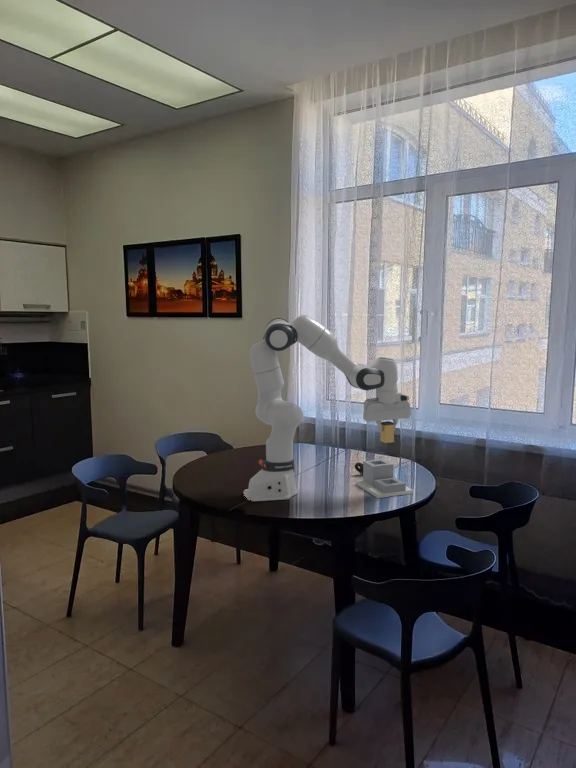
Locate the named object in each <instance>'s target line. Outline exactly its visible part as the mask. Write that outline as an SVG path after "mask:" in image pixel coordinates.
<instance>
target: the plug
mask: <svg viewBox="0 0 576 768" xmlns="http://www.w3.org/2000/svg"><path fill="white" fill-rule="evenodd" d="M393 422H394V421H390V420H385V421H381V423H380V424H381V426H382V427H384V431H379V432H380V433H379V434H380V436H379V437H380V442H382V443H384V444H387V443H389V444H390V443H395V430H394V423H393Z"/></svg>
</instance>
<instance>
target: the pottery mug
mask: <svg viewBox="0 0 576 768" xmlns="http://www.w3.org/2000/svg"><path fill="white" fill-rule="evenodd" d="M369 460H370V459H368V460H366V461H369ZM354 468H355V470H356V471H357V472H358V473H359V474H360V475H363V462H362V463H361V462H356V463H355V464H354Z"/></svg>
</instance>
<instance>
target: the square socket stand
mask: <svg viewBox="0 0 576 768" xmlns="http://www.w3.org/2000/svg"><path fill="white" fill-rule="evenodd" d="M368 460H369V461H367V460H363V461H362V464H363V474H362V480H361V479H360V480H356V481H355V484H356V486H358V487H360V488H361V489H363V490H364V491H366V493H369V494H370V495H371V496H373V497H375V498H377V499H382V498H389V497H390V496H391V497H398V496H406V495H413V494H414V489H412V488H410V487H408V486H407V485H406V484H407V483H406V482H404V481H401V480H400V479H399V478H396V477H394V476H395V475H394V472H395V471H394V463H392V462H389V461H388V460H386V459H384V458H380V459H368Z"/></svg>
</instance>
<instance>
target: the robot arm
mask: <svg viewBox="0 0 576 768" xmlns="http://www.w3.org/2000/svg"><path fill="white" fill-rule="evenodd" d="M296 343H299V344H301V345H302V346H303V347H305V348H306V349H307V350H308V351H309V352H311V353H312V354H314V355H315V356H318V357H319V358H321V359H323V360H326V361H328V362H330V363H331V364H332V365H333V366H335V367H336V368H337V369H338V370H339V371H340V372H341V373H343V374H344V376H345V378H346V379H347V382H348V383H349V384H350V386H352V387H353V388H355V389H360V390H361V391H372V390H375V397H373V398H367V399H366V400H364V401H363V417H362V418H363V420H364V422H368V423H371V422H375V424H376V425H377V426H378V427H377V428H378V431H379V432H380V431H384V427H382V426H381V424H380V423H381V422H384V421H390V420H392V422H393V423H394V431H396V426H397V424H398V423H399V420H402V419H409V418H410V416H411V414H412V413H411V404H410V403H411V402H409V401H410V396H409V395H408V394H403V393H401V392H399V389H398V385H397V383H398V380H399V378H398V377H399V376H398V365H397V364H398V363H397V361H396V360H394V359H393V358H389V357H377V358H376V359H375V360H373V362H371V363H368V364H367V365H364V364H360V363H356V362H355V361H353V360H352V359H351V358H349V357H348V355H346V353H344V352H343V351H342V350H341V349H340V347H339V344H338V339H337V337H335V335H334V333H332V332H331V331H330V330H329V329H328V328H327V327H326V326H325V325H324V324H321V323H320V322H319V321H318V320H316V319H314V318H312V317H311V316H309V315H307V314H301V315H299V316H297V317H296V318H295V319H294V320H293V321H292V322H288V321H287V320H286V319H284V318H282V317H281V318H280V317H278V318H277V317H276V318H273V319H271V320H270V321H269V322H268V323H267V324H266V326H265V329H264V334H263V338H262V340H260V341H257V342H255V343H254V344H253V345H252V346H251V347H250V349H249V358H250V359H249V360H250V366H251V369H252V373H253V377H254V381H255V384H256V389H257V396H258V397H257V400H258V401H257V404H256V406H255V409H254V412H255V416H256V418H257V419H258V420H260V421H261V422H263V423H264V424H265V425H270V426H271V433H270V436H269V437H268V438H267V439H266V441H265V456H266V457H265V458H266V459H265V460H263V459H259V460H258V464H259V465H260V466H261V470H259V471H258V472H257V473H256V474H254V476H252V477H251V478H250V479H249V481H248V488H246V489H244V490H243V494H244V495H243V494H242V495H243V497H244V496H245V497H246V498H247V499H246V498H245V497H244V498H245V499H246V500H248V501H250V500H251V501H250V502H266V501H267V502H268V501H278V500H279V501H281V500H290V499H291V498H292V497H293V496H295V495H297V494H298V493H299V491H298V488H297V486H296V484H297V483H296V479H295V474H294V473H295V466H296V465H295V458H294V448H293V447H294V438H295V434H296V430H297V428H298V427H299V426H300V425H301V424H302V422H303V419H304V413H303V409H302V408H301V407H300V406H299V405H297V404H295V403H293V401H288V400H283V398H282V389H283V387H284V385H285V380H284V377H283V373H282V369H281V365H280V362H279V359H278V352H281V351H285V350H287V349H289V348H290V347H291V346H293V345H294V344H296Z"/></svg>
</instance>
